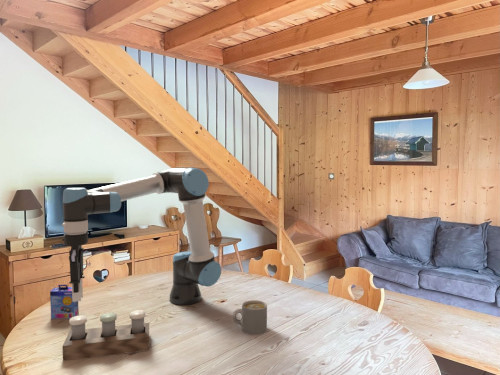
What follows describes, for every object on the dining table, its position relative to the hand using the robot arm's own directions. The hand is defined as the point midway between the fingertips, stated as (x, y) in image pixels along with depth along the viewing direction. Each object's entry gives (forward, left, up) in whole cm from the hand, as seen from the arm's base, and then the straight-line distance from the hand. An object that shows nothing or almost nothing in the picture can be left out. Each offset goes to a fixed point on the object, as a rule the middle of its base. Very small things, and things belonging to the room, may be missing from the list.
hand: (77, 299), depth 132 cm
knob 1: (0, 0, -14) cm, 14 cm away
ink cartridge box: (+11, -33, -19) cm, 39 cm away
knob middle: (-10, 0, -14) cm, 17 cm away
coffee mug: (-63, -2, -19) cm, 66 cm away
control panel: (-10, 0, -19) cm, 21 cm away
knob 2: (-20, 0, -14) cm, 24 cm away
